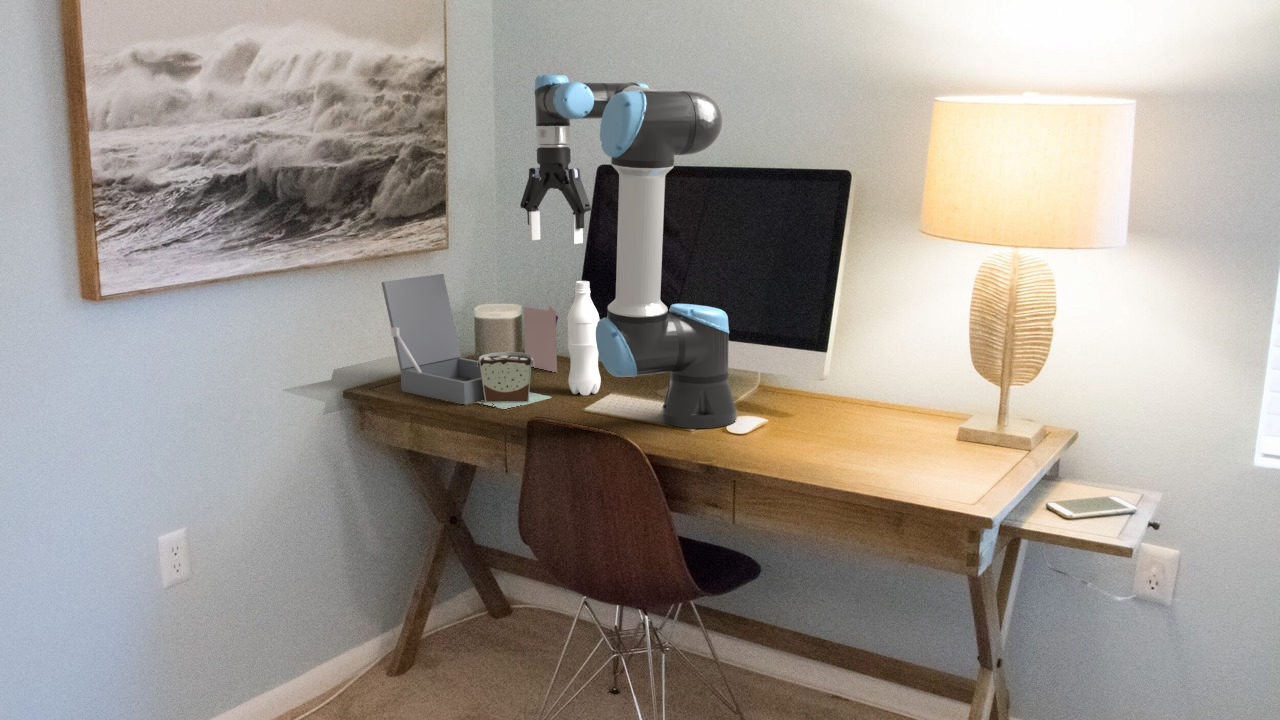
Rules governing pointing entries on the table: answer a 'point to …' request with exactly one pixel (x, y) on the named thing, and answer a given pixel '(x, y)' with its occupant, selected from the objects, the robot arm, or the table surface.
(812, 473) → the table surface
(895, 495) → the table surface
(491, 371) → the food container
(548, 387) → the table surface
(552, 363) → the greeting card
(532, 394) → the mat
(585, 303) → the water bottle
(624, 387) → the table surface
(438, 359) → the case
